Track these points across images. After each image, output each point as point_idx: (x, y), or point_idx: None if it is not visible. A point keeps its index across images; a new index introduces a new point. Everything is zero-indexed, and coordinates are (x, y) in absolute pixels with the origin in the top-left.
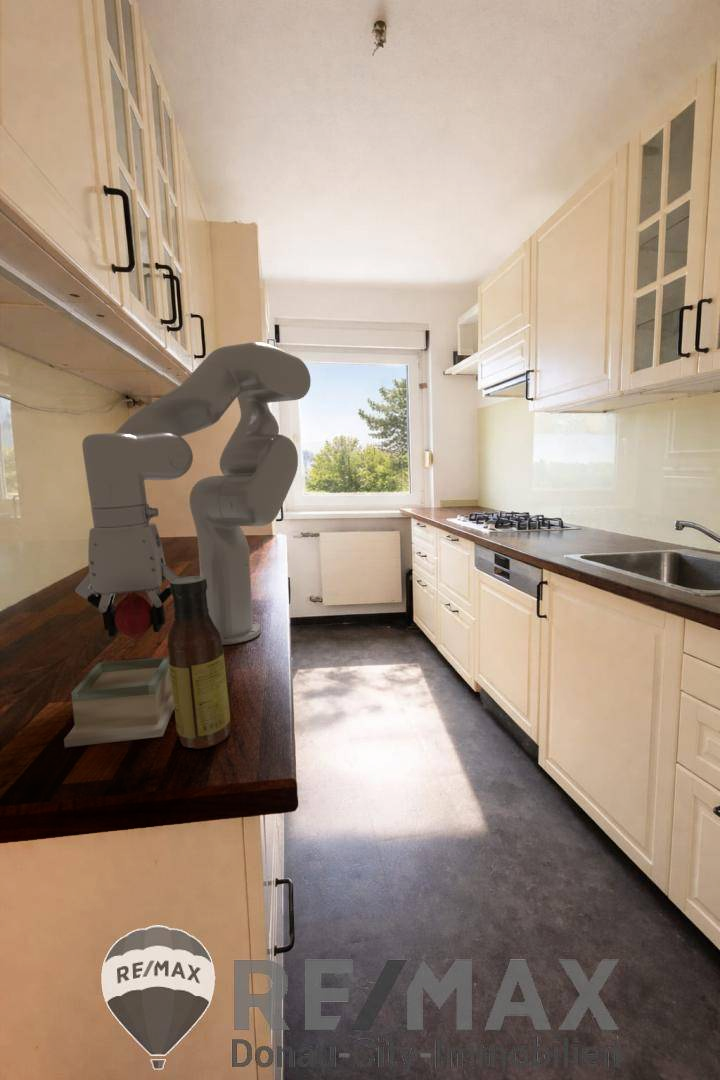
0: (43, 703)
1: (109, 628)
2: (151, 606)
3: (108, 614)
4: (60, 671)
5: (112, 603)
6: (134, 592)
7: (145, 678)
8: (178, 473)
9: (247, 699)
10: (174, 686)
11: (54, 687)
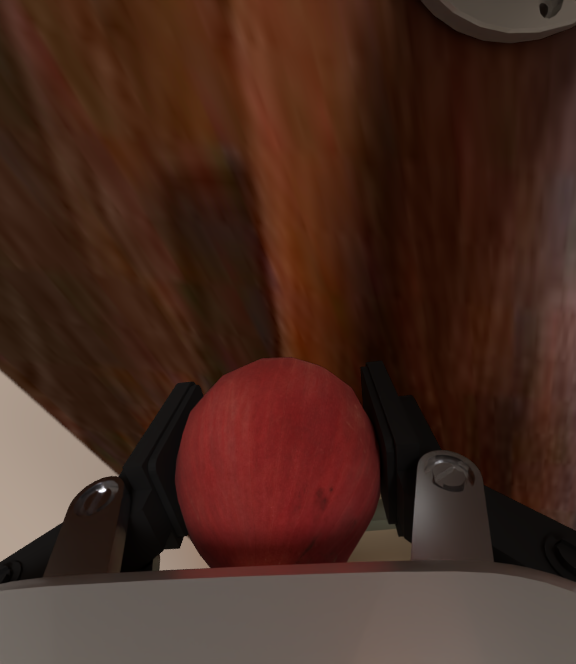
0: (138, 432)
1: None
2: (377, 484)
3: (180, 538)
4: (29, 267)
5: (135, 515)
6: None
7: (389, 552)
8: None
9: (561, 448)
10: None
11: (99, 365)
